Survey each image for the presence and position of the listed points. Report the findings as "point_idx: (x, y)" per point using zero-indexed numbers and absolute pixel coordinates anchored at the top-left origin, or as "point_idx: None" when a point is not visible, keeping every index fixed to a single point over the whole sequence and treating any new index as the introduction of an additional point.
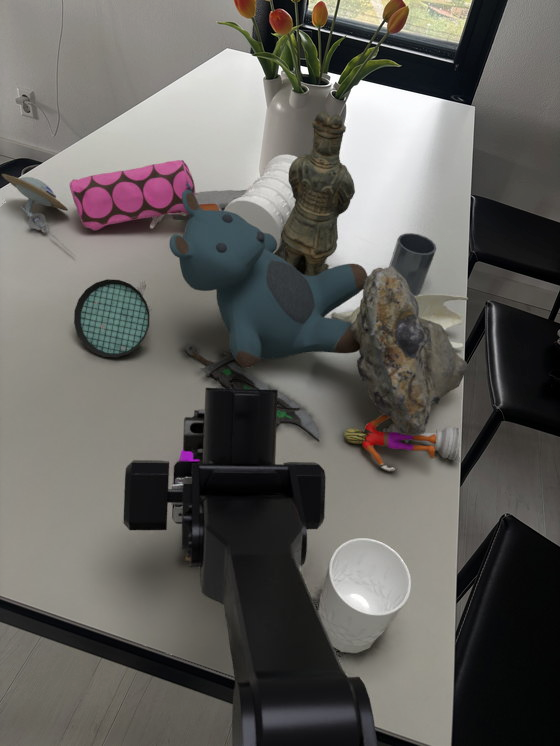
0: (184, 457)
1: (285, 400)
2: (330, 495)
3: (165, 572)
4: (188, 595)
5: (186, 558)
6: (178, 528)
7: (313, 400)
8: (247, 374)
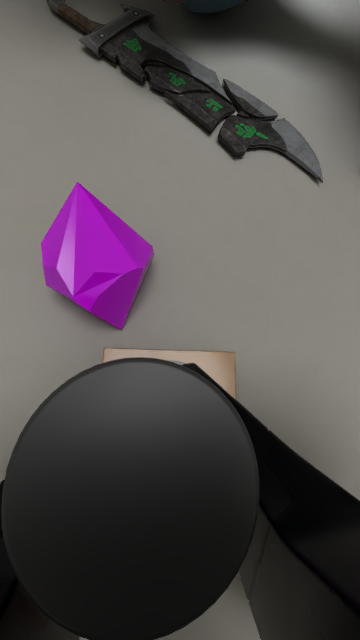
0: (48, 261)
1: (250, 101)
2: (355, 296)
3: None
4: None
5: None
6: None
7: (297, 99)
8: (173, 49)
